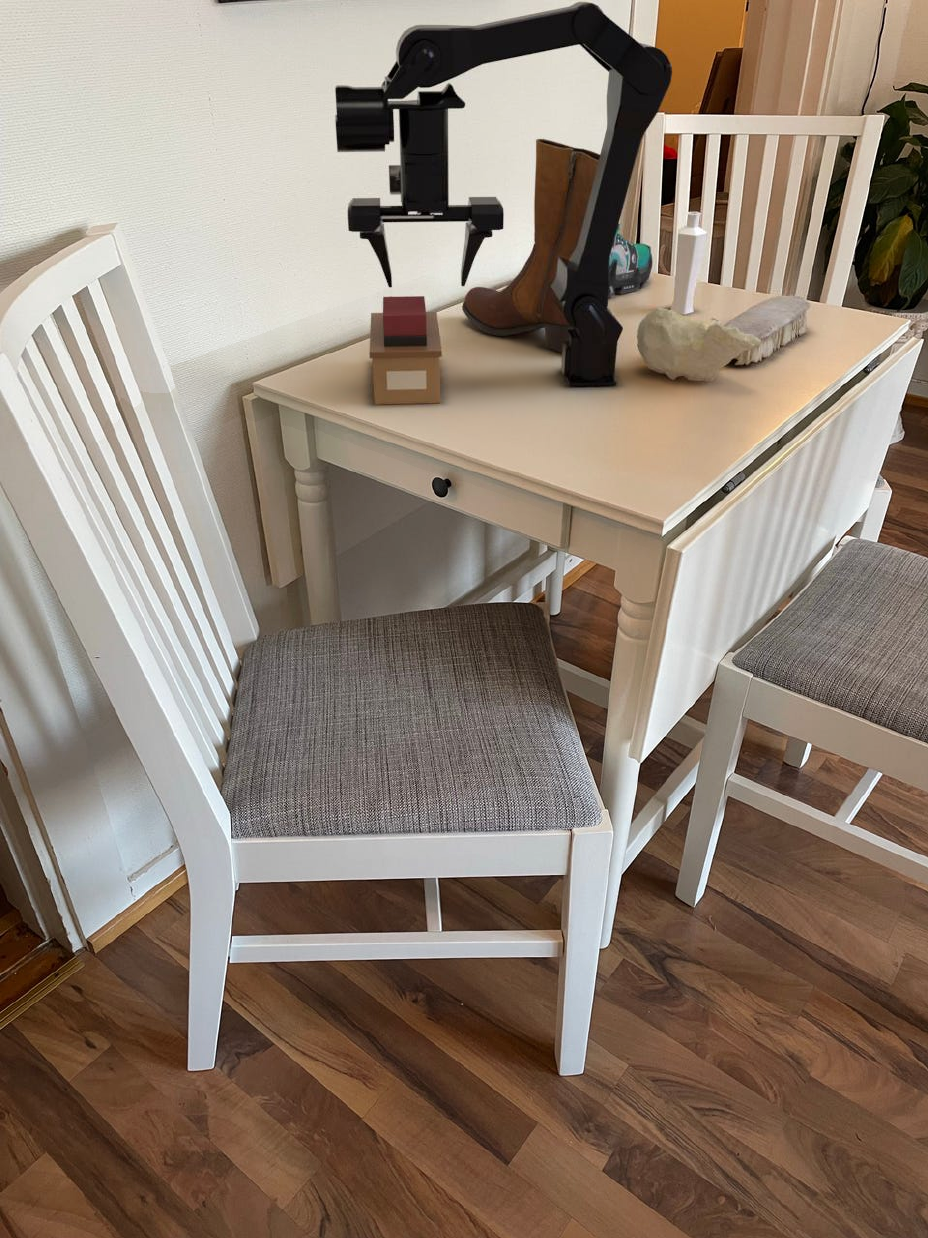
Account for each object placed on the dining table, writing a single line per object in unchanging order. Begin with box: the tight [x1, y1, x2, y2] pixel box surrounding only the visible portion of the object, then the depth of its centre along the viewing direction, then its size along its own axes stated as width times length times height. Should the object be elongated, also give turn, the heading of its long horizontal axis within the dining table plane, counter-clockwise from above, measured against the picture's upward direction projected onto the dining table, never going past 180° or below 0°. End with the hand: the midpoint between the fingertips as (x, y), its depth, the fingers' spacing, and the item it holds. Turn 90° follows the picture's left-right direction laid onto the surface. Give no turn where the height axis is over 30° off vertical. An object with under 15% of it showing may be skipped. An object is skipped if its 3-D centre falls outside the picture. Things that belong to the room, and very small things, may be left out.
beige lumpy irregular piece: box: [636, 307, 761, 383], centre depth 130 cm, size 15×7×15 cm
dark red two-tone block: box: [382, 295, 427, 347], centre depth 125 cm, size 5×12×4 cm, turn 4°
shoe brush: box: [723, 295, 811, 366], centre depth 142 cm, size 24×8×5 cm, turn 143°
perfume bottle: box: [669, 211, 708, 316], centre depth 152 cm, size 5×4×15 cm
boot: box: [461, 138, 601, 354], centre depth 138 cm, size 25×9×27 cm, turn 39°
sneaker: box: [609, 223, 653, 298], centre depth 162 cm, size 9×24×15 cm, turn 134°
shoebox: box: [369, 311, 443, 405], centre depth 128 cm, size 9×16×7 cm, turn 4°
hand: (426, 285), depth 122 cm, fingers open, 9 cm apart
